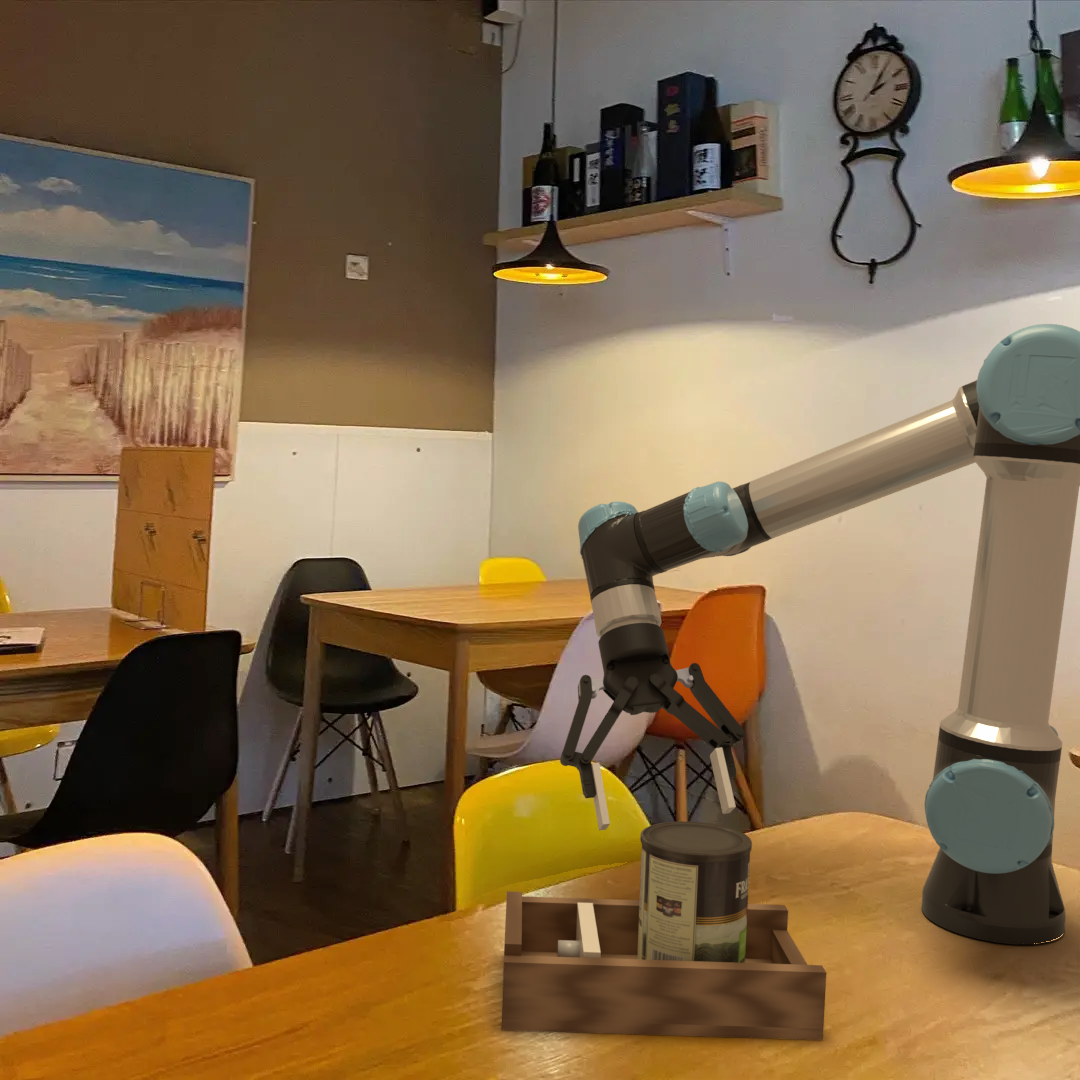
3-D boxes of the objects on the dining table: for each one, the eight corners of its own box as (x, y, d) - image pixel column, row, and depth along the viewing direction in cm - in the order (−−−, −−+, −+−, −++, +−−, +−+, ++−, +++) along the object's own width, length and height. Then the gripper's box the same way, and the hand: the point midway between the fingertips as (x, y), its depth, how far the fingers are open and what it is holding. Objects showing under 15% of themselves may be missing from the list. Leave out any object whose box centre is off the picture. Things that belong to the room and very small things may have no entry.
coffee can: (744, 967, 112) (750, 825, 111) (745, 1015, 102) (753, 858, 101) (638, 956, 114) (644, 816, 113) (629, 1002, 103) (636, 848, 103)
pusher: (590, 952, 113) (592, 903, 113) (598, 1008, 101) (600, 952, 101) (555, 951, 113) (557, 901, 113) (558, 1006, 101) (560, 951, 101)
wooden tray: (781, 963, 116) (785, 895, 115) (823, 1040, 100) (826, 961, 99) (504, 954, 115) (507, 886, 115) (501, 1030, 99) (504, 950, 99)
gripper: (727, 634, 135) (770, 812, 126) (518, 656, 131) (547, 842, 122) (743, 608, 129) (790, 794, 119) (524, 631, 125) (555, 825, 115)
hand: (667, 819), depth 121 cm, fingers open, 13 cm apart
